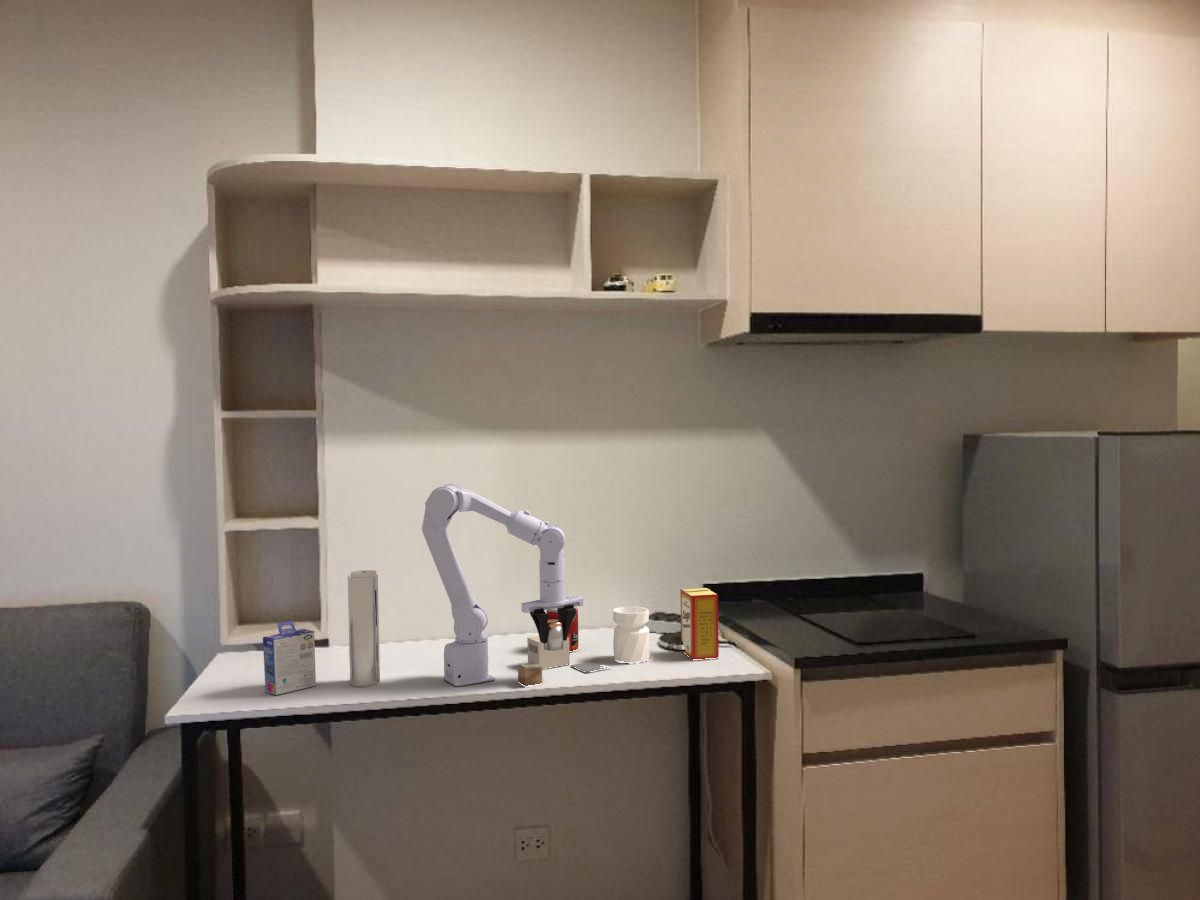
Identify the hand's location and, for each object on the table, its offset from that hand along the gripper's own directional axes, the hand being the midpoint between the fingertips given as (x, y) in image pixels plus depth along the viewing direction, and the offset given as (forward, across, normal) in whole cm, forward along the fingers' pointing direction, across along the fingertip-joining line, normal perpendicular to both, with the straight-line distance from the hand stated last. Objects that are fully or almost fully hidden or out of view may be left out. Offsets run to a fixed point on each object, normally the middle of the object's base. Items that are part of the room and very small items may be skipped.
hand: (553, 641), depth 200 cm
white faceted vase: (+9, -23, -5) cm, 25 cm away
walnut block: (+8, +6, +1) cm, 11 cm away
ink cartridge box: (+9, +53, -24) cm, 58 cm away
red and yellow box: (+9, -40, 0) cm, 40 cm away
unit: (+8, -4, -11) cm, 14 cm away
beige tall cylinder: (+9, +37, -19) cm, 43 cm away
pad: (+8, -11, -3) cm, 14 cm away
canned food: (+9, -14, -22) cm, 28 cm away
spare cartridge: (+2, 0, 0) cm, 2 cm away
